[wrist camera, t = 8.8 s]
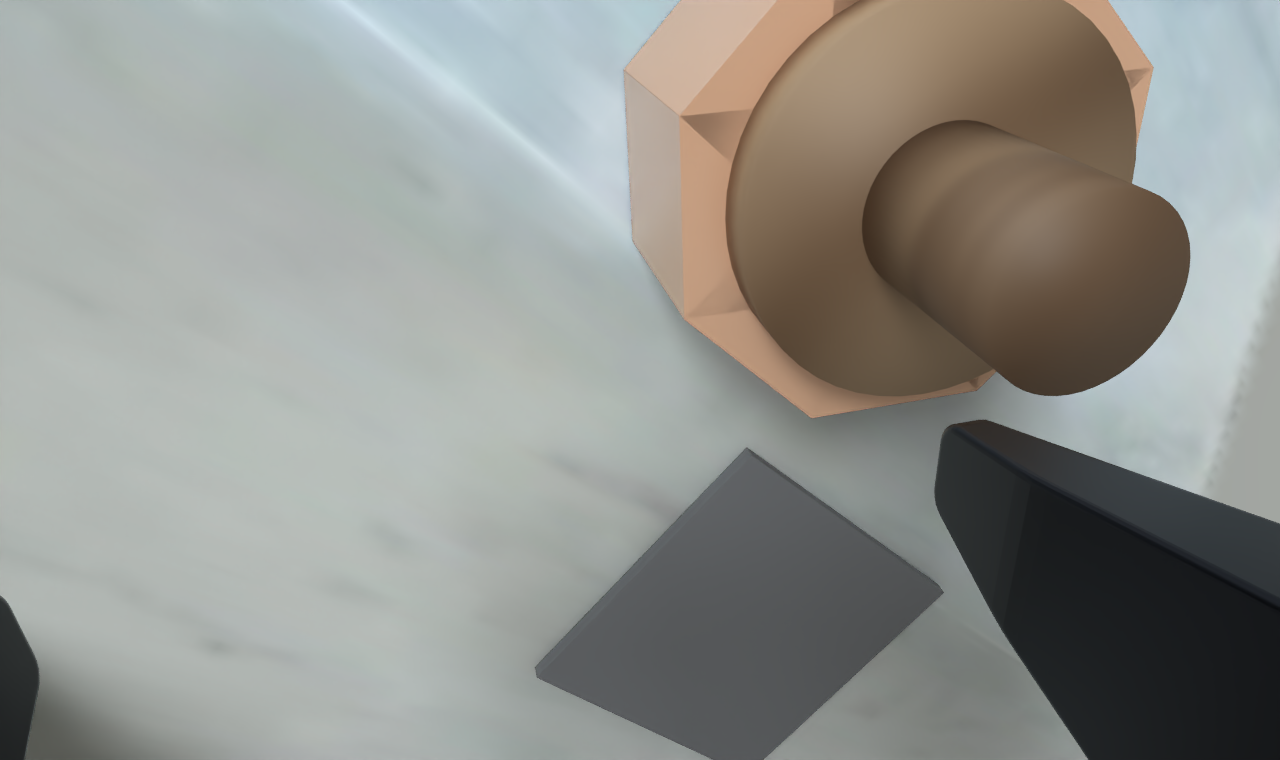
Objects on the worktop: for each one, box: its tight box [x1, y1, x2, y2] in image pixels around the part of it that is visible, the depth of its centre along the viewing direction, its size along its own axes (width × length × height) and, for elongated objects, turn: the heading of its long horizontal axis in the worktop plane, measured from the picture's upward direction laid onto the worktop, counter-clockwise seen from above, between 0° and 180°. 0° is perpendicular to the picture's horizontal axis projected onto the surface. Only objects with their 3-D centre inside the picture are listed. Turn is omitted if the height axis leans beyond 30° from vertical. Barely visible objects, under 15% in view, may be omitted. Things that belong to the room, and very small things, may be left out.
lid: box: [725, 0, 1190, 396], centre depth 15 cm, size 8×8×5 cm
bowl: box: [624, 0, 1153, 418], centre depth 19 cm, size 9×9×4 cm
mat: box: [535, 448, 944, 760], centre depth 28 cm, size 9×9×1 cm
